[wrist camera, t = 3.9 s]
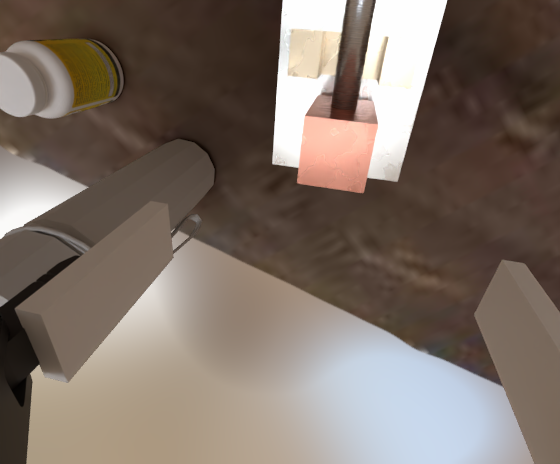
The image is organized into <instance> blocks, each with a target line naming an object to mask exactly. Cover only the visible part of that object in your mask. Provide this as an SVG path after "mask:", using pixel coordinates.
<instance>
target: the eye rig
mask: <svg viewBox="0 0 560 464" xmlns="http://www.w3.org/2000/svg"><path fill="white" fill-rule="evenodd" d="M446 2H447V0H376V5H375V10H374V16H373V21H372V27H371V32H370V38H369V43H368V49H367V54H366V59H365V65H364V70H363V76H362V81H361V87H360V92H359V98H358V99H360V100H369V101H374V104H375V109H376V114H377V119H378V124H379V125H378V130H377V134H376V139H375V143H374V148H373V152H372V157H371V161H370V166H369V170H368V175H367V177H368V178H375V179H382V180H389V181H396V182H397V181H398V178H399V174H400V170H401V167H402V163H403V159H404V156H405V152H406V148H407V145H408V141H409V137H410V134H411V130H412V127H413V123H414V119H415V116H416V112H417V108H418V105H419V101H420V97H421V94H422V90H423V86H424V83H425V79H426V75H427V72H428V68H429V65H430V61H431V57H432V54H433V50H434V46H435V43H436V39H437V35H438V32H439V28H440V24H441V21H442V17H443V13H444V10H445V6H446ZM345 5H346V0H283V5H282V21H281V36H280V52H279V68H278V83H277V99H276V114H275V130H274V146H273V161H272V164H276V165H283V166H290V167H297V168H299V160H300V151H301V142H302V133H303V123H304V115H305V114H306V112H307V111H308V109H309V108H310V106H311V105H312V103H313V102H314V100H315V99H316V97H317V95H324V96H332V95H333V88H334V81H335V74H336V67H337V61H338V54H339V47H340V40H341V33H342V26H343V19H344V12H345Z"/></svg>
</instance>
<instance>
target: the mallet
mask: <svg viewBox="0 0 560 464" xmlns="http://www.w3.org/2000/svg"><path fill="white" fill-rule="evenodd" d="M375 5H376V0H346V5H345V12H344V19H343V26H342V33H341V40H340V47H339V54H338V61H337V67H336V74H335V81H334V88H333V95H332V96H324V95H317V97H316V99H315V100H314V102H313V103H312V105H311V106H310V108H309V109H308V111H307V112H306V114H305V115H304V123H303V133H302V142H301V151H300V160H299V170H298V179H297V183H298V184H305V185H311V186H318V187H325V188H332V189H338V190H345V191H352V192H358V193H364V189H365V184H366V179H367V175H368V170H369V166H370V161H371V157H372V152H373V148H374V143H375V139H376V134H377V130H378V125H379V124H378V119H377V114H376V109H375V104H374V101H369V100H360V99H358V98H359V92H360V87H361V81H362V76H363V70H364V65H365V59H366V54H367V49H368V43H369V38H370V32H371V27H372V21H373V16H374V10H375Z"/></svg>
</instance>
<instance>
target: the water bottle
mask: <svg viewBox="0 0 560 464" xmlns="http://www.w3.org/2000/svg"><path fill="white" fill-rule="evenodd" d="M214 173H215V169H214V167H213V164H212V162H211V160H210V158H209V156H208V154H207V153H206V152H205V151H204V150H202V149H201V148H200V147H199V146H198V145H197V144H195V143H194V142H190V141H186V140H181V139H176V140H173V141H171V142H168V143H165V144H163V145H161V146H160V147H158V148H156V149H155V150H153V151H151V152H149V153H148V154H146V155H144V156H142V157H141V158H139V159H137V160H135V161H134V162H132V163H130V164H129V165H127V166H125V167H123V168H122V169H120V170H118V171H116V172H115V173H113V174H111V175H109V176H108V177H106V178H104V179H103V180H101V181H99V182H97V183H96V184H94V185H92V186H90V187H89V188H87V189H85V190H83V191H82V192H80V193H78V194H77V195H75V196H73V197H71V198H70V199H68V200H66V201H65V202H63V203H61V204H59V205H58V206H56V207H54V208H52V209H51V210H49V211H47V212H45V213H44V214H42V215H40V216H38V217H37V218H35V219H33V220H32V221H30V222H28V223H26V224H25V225H24V226H23V227H19V228H16V229H13V230H11V231H10V232H8V233H6V234H5V236H4V237H3V238H2V239H0V307H1V306H2V305H4V304H5V303H6V302H8V301H9V300H10V299H11V298H13V297H14V296H15V295H17V294H18V293H19V292H21V291H22V290H23V289H25V288H26V287H27V286H29V285H30V284H31V283H33V282H36V280H37V279H38V278H39V277H41V276H42V275H43V274H47V271H49V270H50V269H51V268H53V267H54V266H55V265H57V264H58V263H59V262H61V261H64V260H66V259H68V258H70V257H73V256H75V255H78V256H82V255H83V254H84V253H86V252H87V251H88V250H89V249H91V248H92V247H93V246H94V245H96V244H97V243H98V242H100V241H101V240H102V239H103V238H105V237H106V236H107V235H108V234H110V233H111V232H112V231H113V230H115V229H116V228H117V227H119V226H120V225H121V224H122V223H124V222H125V221H126V220H127V219H129V218H130V217H131V216H132V215H134V214H135V213H136V212H138V211H139V210H140V209H141V208H143V207H144V206H145V205H146V204H148V203H149V202H150V201H154V202H160V203H166V204H168V210H169V220H170V229H171V231H172V230H173V229H174V228H175V227H176V226H177V225H178V223H179V222H180V221H181V220H182V219H183V218H184V217H185V216H186V215H187V214H188V213H189V212H190V211H191V210H192V209H193V208H194V206H195V205H196V204H197V203H198V202H199V201H200V200H201V199H202V198H203V197H204V196H205V195H206V194H207V192H208V191H209V190H210V188H211V187H212V186H213V185H214ZM188 219H192V220H193V221H195V222H196V226H195V229H194V230H193V232H192V233H191V235H190V237H189V238H188V239H186V240H185V241H184V242H183V243H182V244H181V245H180V246H178V247H177V248H176V249H175V250H174V251H173V254H174V253H175V252H176V251H177V250H179V249H180V248H181V247H182V246H183V245H184V244H185V243H187V242H188V241H189V240H190V239H191V238H192V237H194V236H195V234H196V233H197V231H198V230H199V228H200V226H201V223H202V220H201V218H200V217H199V216H198V214H197V215H194V214H193V215H189V216H188V217H186V218H185V219H184V220H183V221H182V222H181V223H180V224H179V225H178V226H177V227H176V229H175V230H174V231H173V232H172V233H171V238H172V237H173V236H174V235H175V234H176V233H177V232H178V230H179V229H180V228H181V227H182V226H183V225H184V223H185V222H186V221H187V220H188Z"/></svg>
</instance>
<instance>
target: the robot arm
mask: <svg viewBox="0 0 560 464" xmlns="http://www.w3.org/2000/svg"><path fill="white" fill-rule="evenodd" d="M172 258H173V249H172V238H171V229H170V220H169V210H168V204H166V203H160V202H154V201H150V202H149V203H148V204H146V205H145V206H144V207H143V208H141V209H140V210H139V211H138V212H136V213H135V214H134V215H132V216H131V217H130V218H129V219H127V220H126V221H125V222H124V223H122V224H121V225H120V226H119V227H117V228H116V229H115V230H113V231H112V232H111V233H110V234H108V235H107V236H106V237H105V238H103V239H102V240H101V241H100V242H98V243H97V244H96V245H94V246H93V247H92V248H91V249H89V250H88V251H87V252H86V253H84V254H83V255H82V256H78V255H75V256H73V257H70V258H68V259H66V260H64V261H61V262H59V263H58V264H57V265H55V266H54V267H53V268H51V269H50V270H49V271H47V274H43V275H42V276H41V277H39V278H38V279H37V280H36V282H33V283H31V284H30V285H29V286H27V287H26V288H25V289H23V290H22V291H21V292H19V293H18V294H17V295H15V296H14V297H13V298H11V299H10V300H9V301H8V302H6V303H5V304H4V305H2V306H1V307H0V464H26V458H27V445H28V431H29V419H30V406H31V392H32V379H31V375H30V373H31V372H32V371H33V370H34V369H35V368H36V367H37V366H38V365H40V367H41V369H42V372H43V374H44V376H45V377H47V378H50V379H55V380H58V381H63V382H66V383H68V382H69V381H70V380H71V379H72V377H73V376H74V375H75V374H76V373H77V371H78V370H79V369H80V368H81V366H83V364H84V363H85V362H86V361H87V360H88V358H89V357H90V356H91V355H92V354H93V352H94V351H95V350H96V349H97V348H98V347H99V345H100V344H101V343H102V341H104V339H105V338H106V337H107V336H108V335H109V334H110V332H111V331H112V330H113V329H114V328H115V326H116V325H117V324H118V323H119V322H120V320H121V319H122V318H123V317H124V316H125V315H126V313H127V312H128V311H129V310H130V308H131V307H132V306H133V305H134V304H135V303H136V301H137V300H138V299H139V298H140V297H141V296H142V294H143V293H144V292H145V291H146V289H147V288H148V287H149V286H150V285H151V284H152V282H153V281H154V280H155V279H156V278H157V277H158V275H159V274H160V273H161V272H162V271H163V269H164V268H165V267H166V266H167V265H168V263H169V262H170V261H171V260H172ZM474 316H475V318H476V321H477V323H478V325H479V328H480V330H481V333H482V335H483V338H484V340H485V343H486V345H487V348H488V350H489V353H490V355H491V358H492V360H493V362H494V365H495V367H496V370H497V372H498V375H499V377H500V380H501V382H502V385H503V387H504V389H505V391H506V395H507V397H508V399H509V402H510V404H511V407H512V409H513V412H514V414H515V416H516V419H517V422H518V424H519V427H520V429H521V431H522V434H523V436H524V439H525V441H526V444H527V446H528V449H529V451H530V453H531V456H532V458H533V461H534V464H560V312H559V311H558V310H557V308H556V307H555V305H554V304H553V303H552V301H551V300H550V298H549V297H548V296H547V294H546V293H545V291H544V290H543V289H542V287H541V286H540V284H539V283H538V282H537V280H536V279H535V277H534V276H533V275H532V273H531V272H530V270H529V269H528V268H527V266H526V265H525V264H524V263H518V262H512V261H506V260H502V261H501V263H500V265H499V267H498V269H497V271H496V273H495V275H494V277H493V279H492V281H491V283H490V284H489V286H488V288H487V290H486V292H485V294H484V296H483V298H482V300H481V302H480V304H479V306H478V308H477V310H476V312H475V314H474Z"/></svg>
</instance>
